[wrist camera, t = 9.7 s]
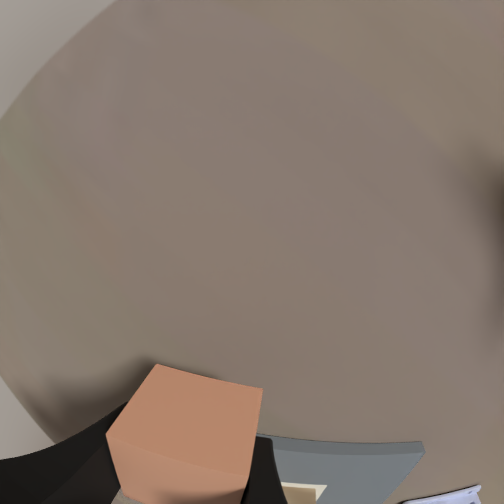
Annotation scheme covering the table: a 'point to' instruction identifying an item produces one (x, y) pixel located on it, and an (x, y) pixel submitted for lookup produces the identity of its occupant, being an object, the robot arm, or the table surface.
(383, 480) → the baseplate
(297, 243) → the table surface
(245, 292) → the table surface
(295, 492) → the birch block
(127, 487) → the terracotta block
